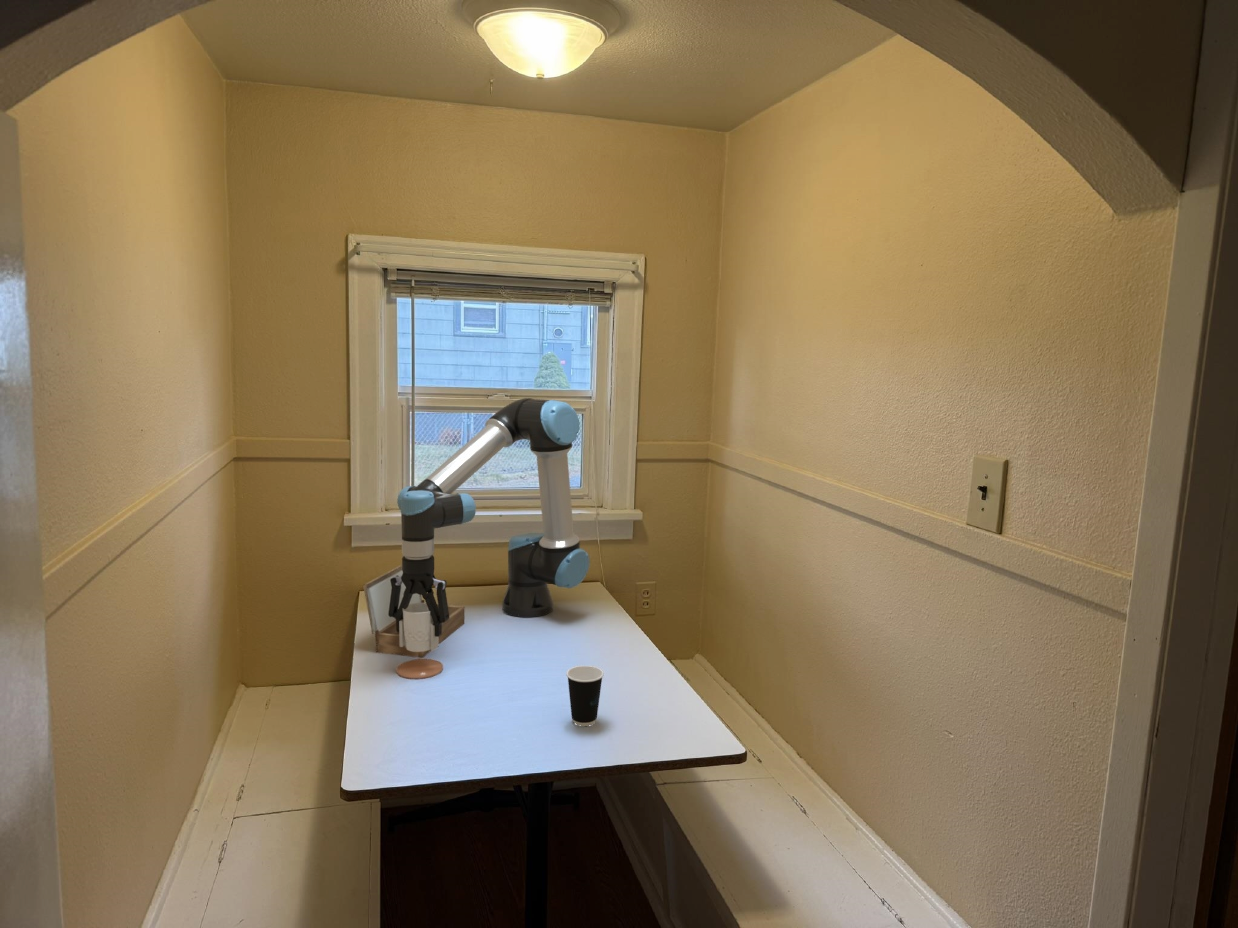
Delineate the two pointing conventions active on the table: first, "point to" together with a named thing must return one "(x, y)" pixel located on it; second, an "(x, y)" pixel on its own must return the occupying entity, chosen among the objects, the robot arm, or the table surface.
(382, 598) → the lid
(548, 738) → the table surface
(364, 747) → the table surface
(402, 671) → the saucer
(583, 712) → the dixie cup
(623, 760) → the table surface
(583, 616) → the table surface
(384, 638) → the cold frame
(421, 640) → the white cup
